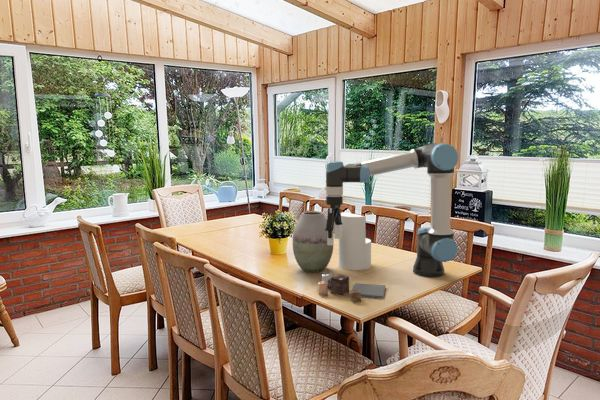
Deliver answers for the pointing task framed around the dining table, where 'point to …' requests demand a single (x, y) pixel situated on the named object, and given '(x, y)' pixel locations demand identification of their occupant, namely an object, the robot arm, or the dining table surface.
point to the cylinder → (354, 243)
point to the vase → (311, 242)
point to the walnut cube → (355, 295)
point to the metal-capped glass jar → (327, 279)
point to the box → (339, 284)
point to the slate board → (370, 290)
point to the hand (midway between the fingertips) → (333, 241)
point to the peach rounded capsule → (322, 288)
